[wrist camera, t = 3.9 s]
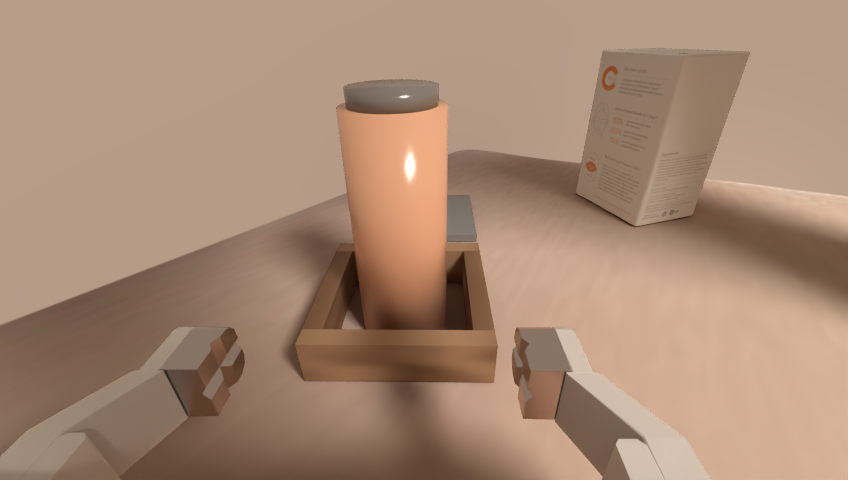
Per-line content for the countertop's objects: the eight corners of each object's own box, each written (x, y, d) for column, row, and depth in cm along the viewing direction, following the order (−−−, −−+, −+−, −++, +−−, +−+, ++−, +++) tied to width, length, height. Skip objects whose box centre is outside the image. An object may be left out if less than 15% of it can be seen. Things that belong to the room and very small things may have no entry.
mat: (468, 200, 37) (469, 195, 36) (476, 241, 30) (476, 234, 29) (387, 201, 37) (387, 195, 37) (376, 241, 30) (375, 235, 30)
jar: (444, 292, 24) (446, 77, 18) (446, 348, 20) (450, 92, 14) (370, 292, 24) (346, 79, 18) (357, 347, 20) (319, 95, 14)
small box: (693, 217, 33) (755, 50, 26) (634, 228, 31) (684, 54, 25) (624, 185, 40) (660, 46, 33) (573, 193, 38) (600, 49, 32)
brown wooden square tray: (476, 273, 26) (478, 243, 25) (493, 382, 18) (497, 346, 17) (344, 273, 26) (340, 243, 25) (304, 380, 18) (294, 344, 17)
